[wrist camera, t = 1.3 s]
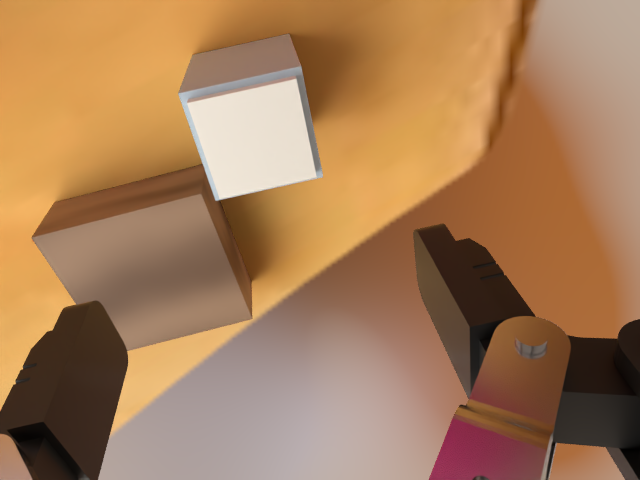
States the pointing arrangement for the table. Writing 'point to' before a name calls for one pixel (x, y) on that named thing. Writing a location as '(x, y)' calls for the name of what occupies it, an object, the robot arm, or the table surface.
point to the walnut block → (150, 257)
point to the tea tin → (251, 117)
